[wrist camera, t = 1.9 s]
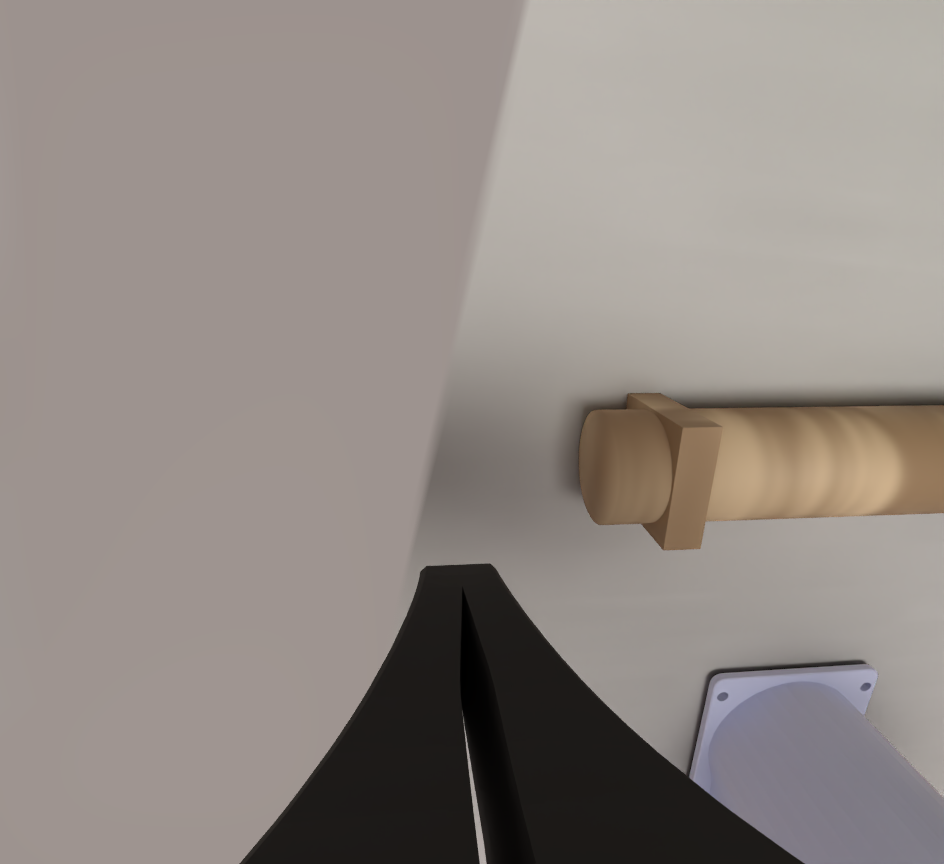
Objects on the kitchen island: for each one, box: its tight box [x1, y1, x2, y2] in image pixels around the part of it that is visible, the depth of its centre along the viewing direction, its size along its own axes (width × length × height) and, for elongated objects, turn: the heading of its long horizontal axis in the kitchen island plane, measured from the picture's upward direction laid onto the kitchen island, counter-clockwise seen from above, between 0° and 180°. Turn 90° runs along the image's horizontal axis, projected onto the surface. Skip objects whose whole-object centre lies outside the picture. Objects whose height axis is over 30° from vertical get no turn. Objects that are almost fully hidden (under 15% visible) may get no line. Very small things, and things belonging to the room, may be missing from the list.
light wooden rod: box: [579, 393, 944, 550], centre depth 17 cm, size 18×4×4 cm, turn 89°
